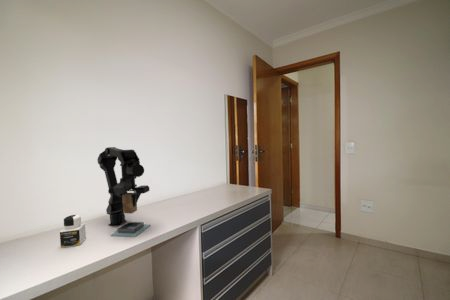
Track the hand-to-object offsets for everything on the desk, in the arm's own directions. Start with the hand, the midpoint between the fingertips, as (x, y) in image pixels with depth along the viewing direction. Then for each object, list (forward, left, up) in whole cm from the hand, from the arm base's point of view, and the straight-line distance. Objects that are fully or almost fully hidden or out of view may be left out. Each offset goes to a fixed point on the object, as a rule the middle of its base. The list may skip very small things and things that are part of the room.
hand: (130, 206), depth 102 cm
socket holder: (0, 0, -12) cm, 12 cm away
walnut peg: (0, 0, -3) cm, 2 cm away
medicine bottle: (-18, -14, -12) cm, 26 cm away
